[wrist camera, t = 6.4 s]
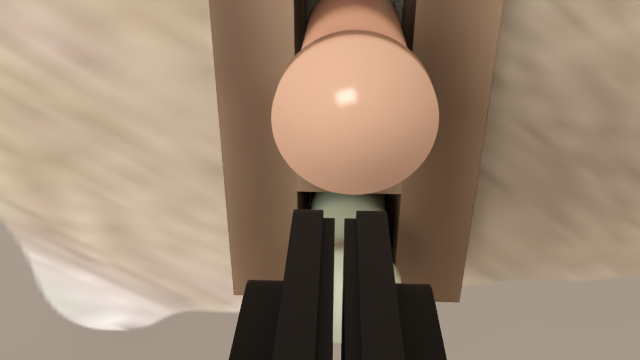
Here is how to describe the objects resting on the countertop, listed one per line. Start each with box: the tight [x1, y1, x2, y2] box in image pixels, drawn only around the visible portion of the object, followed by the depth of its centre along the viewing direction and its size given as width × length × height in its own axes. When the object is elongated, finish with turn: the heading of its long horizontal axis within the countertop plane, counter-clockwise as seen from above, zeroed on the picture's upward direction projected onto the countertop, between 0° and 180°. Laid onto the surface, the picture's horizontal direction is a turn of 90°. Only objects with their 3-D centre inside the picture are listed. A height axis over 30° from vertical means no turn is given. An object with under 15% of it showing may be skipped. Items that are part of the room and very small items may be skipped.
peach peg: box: [271, 0, 439, 195], centre depth 22 cm, size 5×5×10 cm
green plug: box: [311, 192, 402, 344], centre depth 30 cm, size 5×5×10 cm
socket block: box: [209, 0, 504, 302], centre depth 30 cm, size 12×18×6 cm, turn 0°
